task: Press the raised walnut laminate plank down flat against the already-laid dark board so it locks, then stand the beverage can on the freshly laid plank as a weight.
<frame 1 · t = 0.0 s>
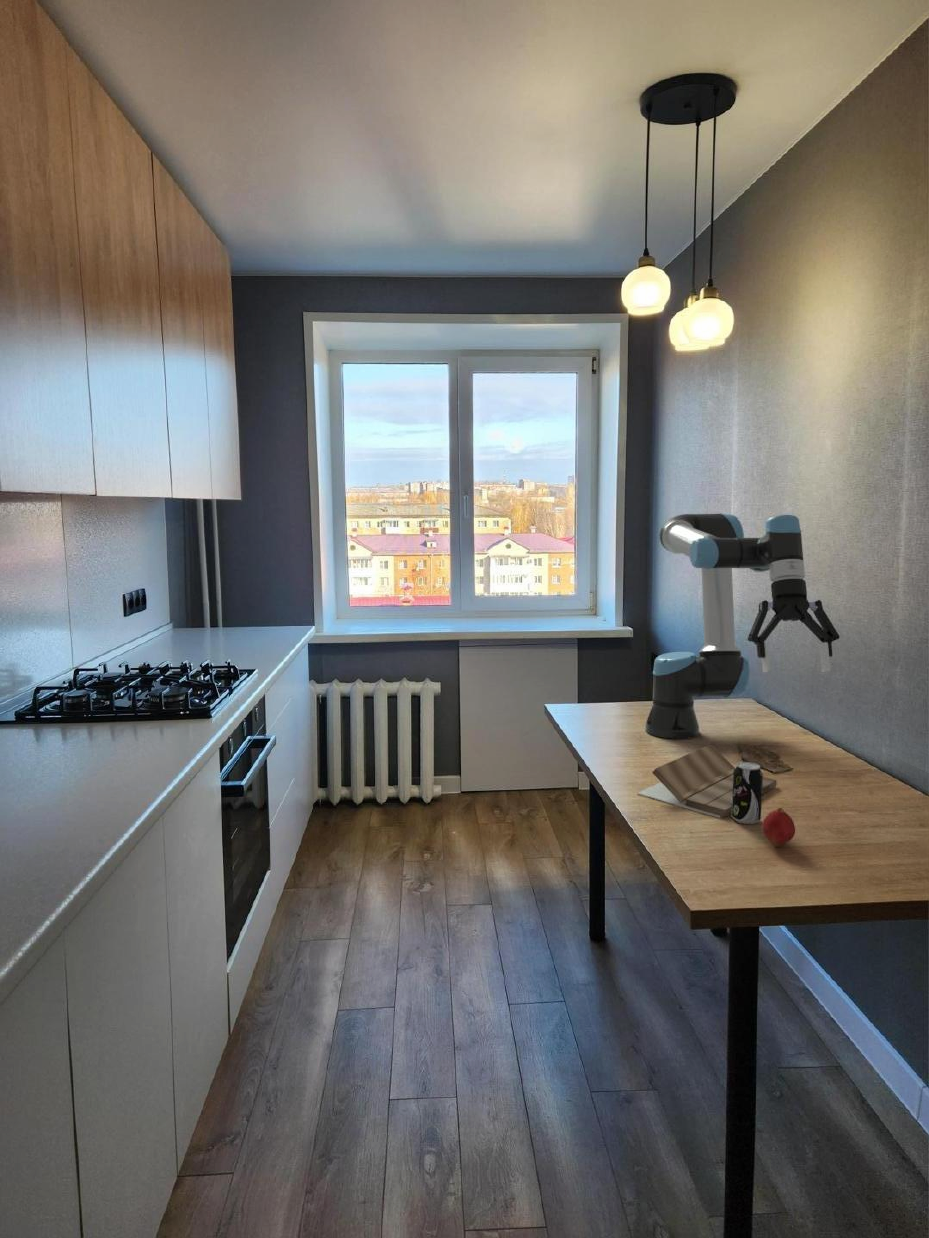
hand: (796, 672, 175), 28 cm above the table, tool tilted 20°, fingers open, 13 cm apart
wooden fragment: (758, 758, 203), on the table
laid board: (732, 796, 174), resting on underlay mat
beverage can: (745, 821, 161), on the table
underlay mat: (706, 790, 179), on the table
plank: (696, 771, 180), point 4 cm above the table, hinge at 35.0°
pomegranate: (777, 847, 148), on the table
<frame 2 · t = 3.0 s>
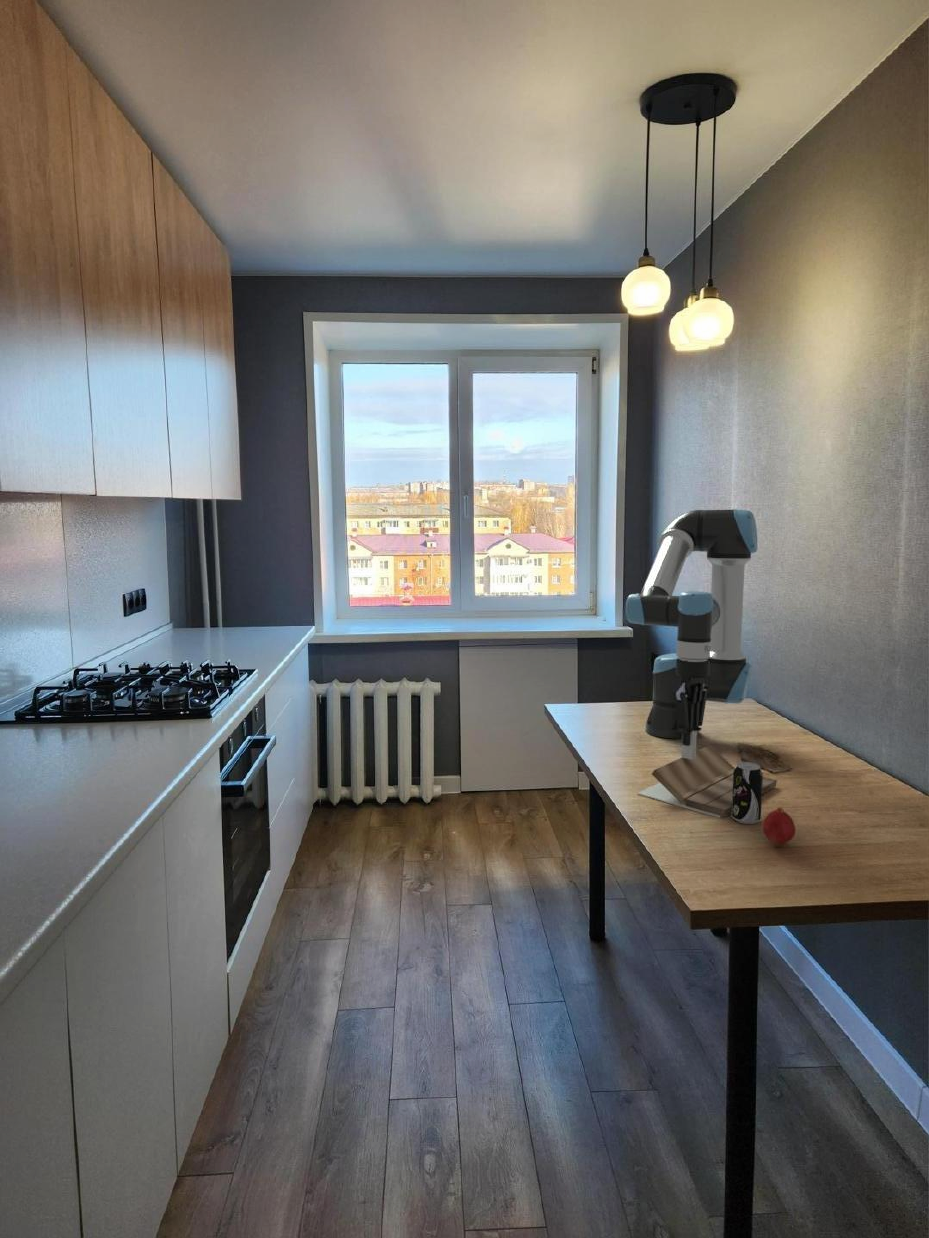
hand: (688, 757, 181), 7 cm above the table, tool pointing down, fingers closed, pressing on plank
plank: (696, 772, 180), point 4 cm above the table, hinge at 32.6°, touching gripper
everything else where it was.
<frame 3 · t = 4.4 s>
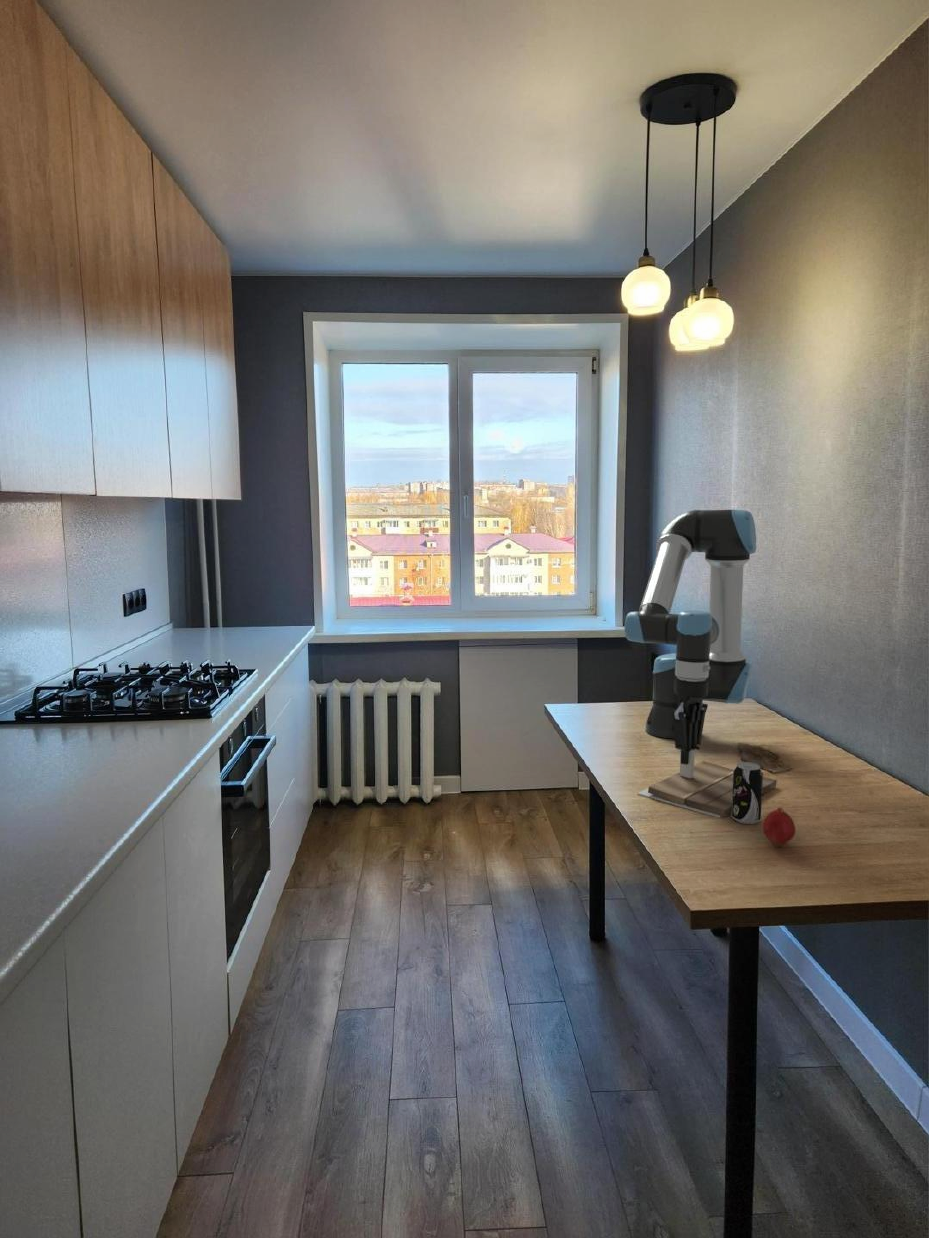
hand: (686, 776, 182), 2 cm above the table, tool pointing down, fingers closed
plank: (694, 781, 181), point 1 cm above the table, hinge at 3.2°, touching gripper
everything else where it was.
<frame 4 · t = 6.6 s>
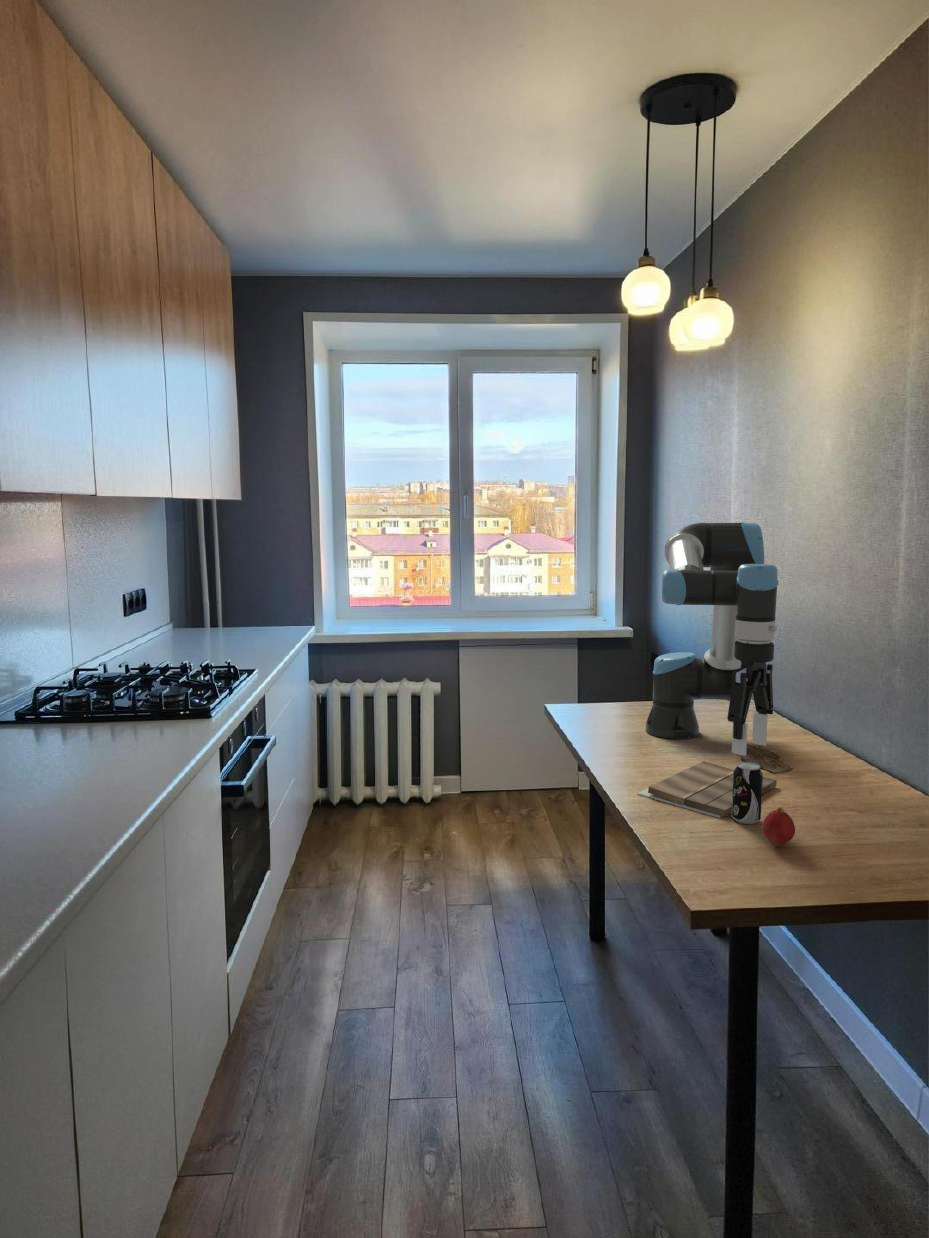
hand: (749, 748, 159), 15 cm above the table, tool pointing down, fingers open, 9 cm apart
plank: (694, 781, 181), point 1 cm above the table, hinge at 3.2°
everything else where it was.
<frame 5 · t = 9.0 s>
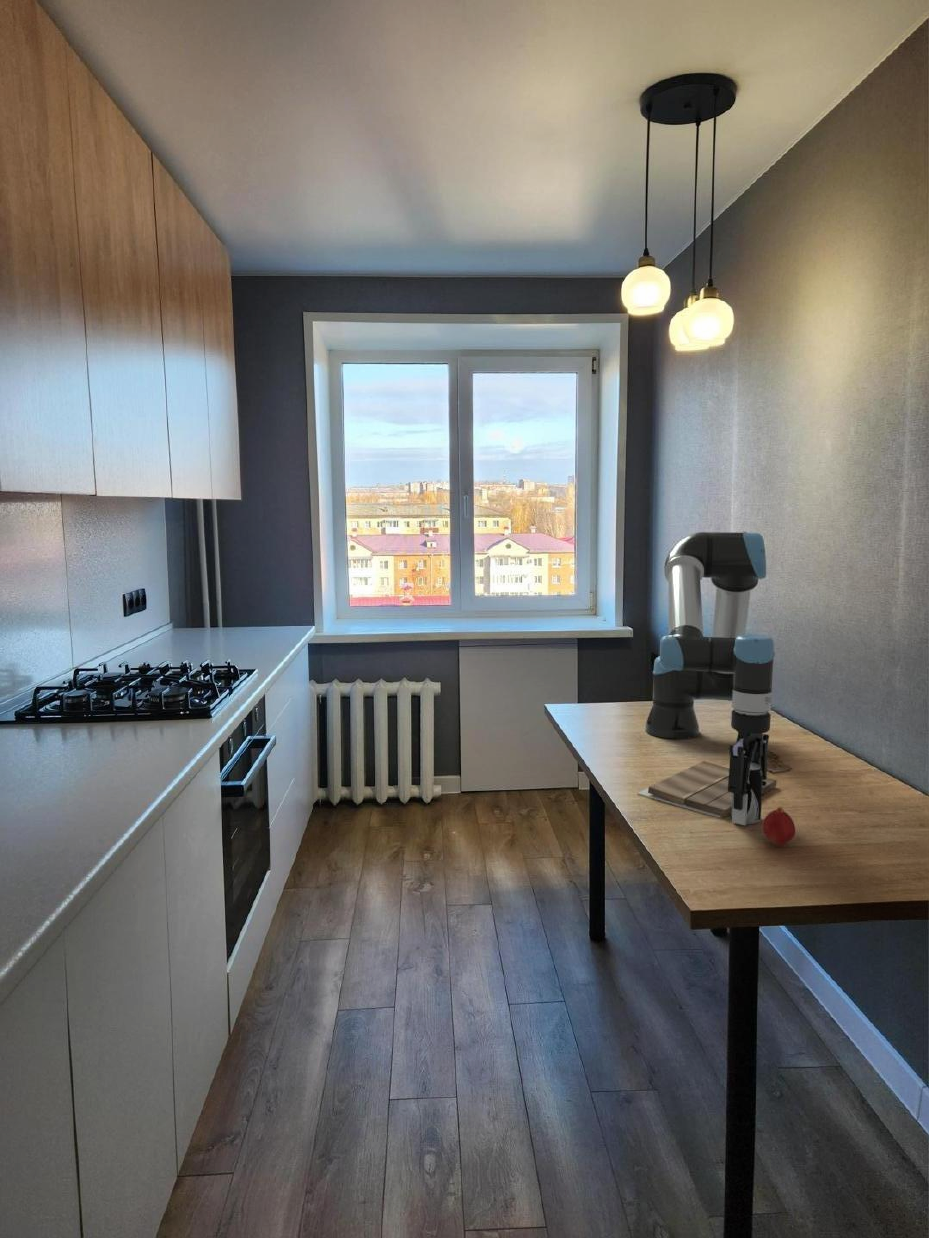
hand: (745, 818, 161), 0 cm above the table, tool pointing down, fingers closed on beverage can, 6 cm apart
beverage can: (745, 821, 161), on the table, touching gripper
everything else where it was.
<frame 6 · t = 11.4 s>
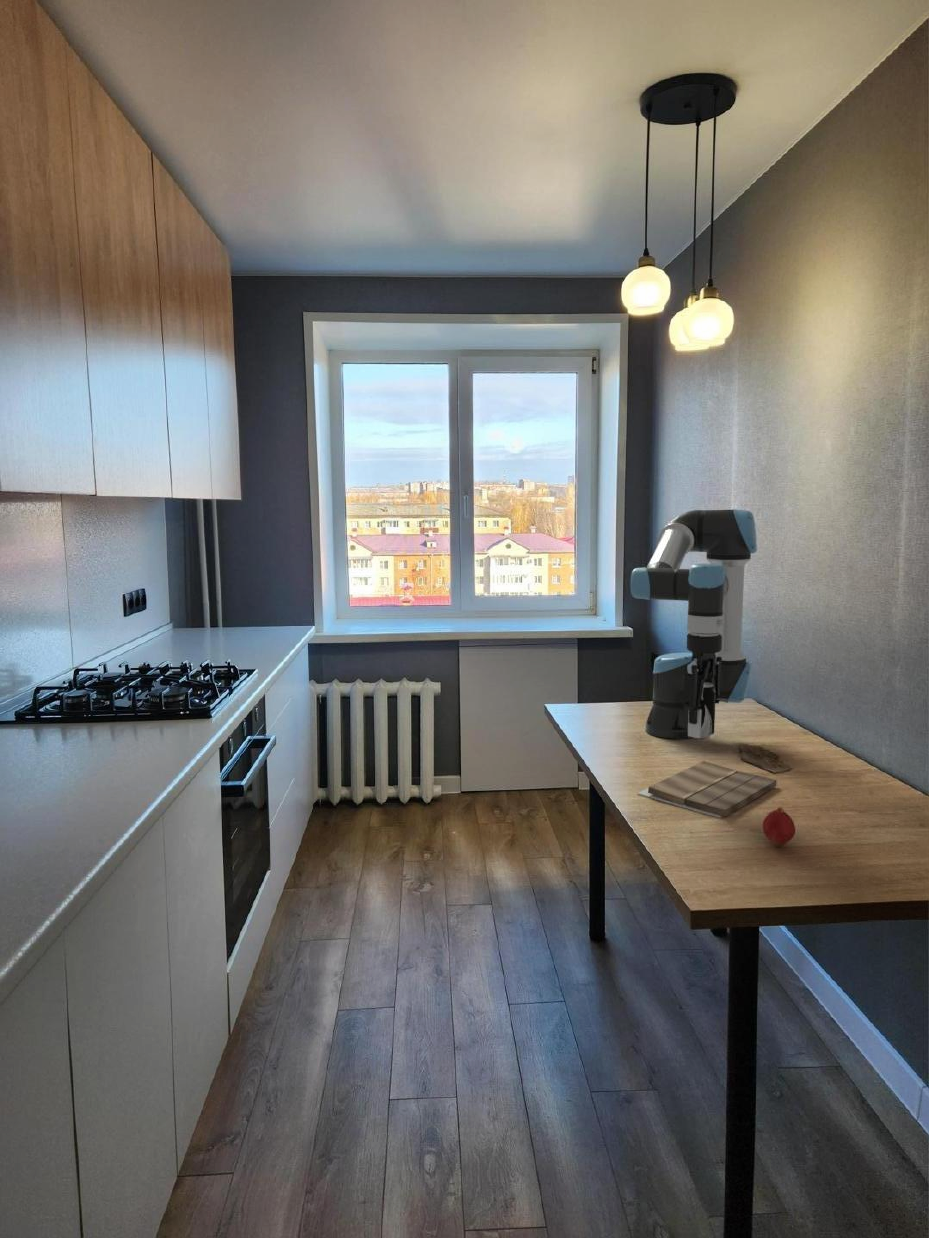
hand: (700, 733, 176), 14 cm above the table, tool pointing down, fingers closed on beverage can, 6 cm apart
beverage can: (700, 735, 176), point 13 cm above the table, touching gripper
everything else where it was.
when the fingers open (3 cm above the table, at t = 14.1 s): beverage can drops 1 cm, resting on plank.
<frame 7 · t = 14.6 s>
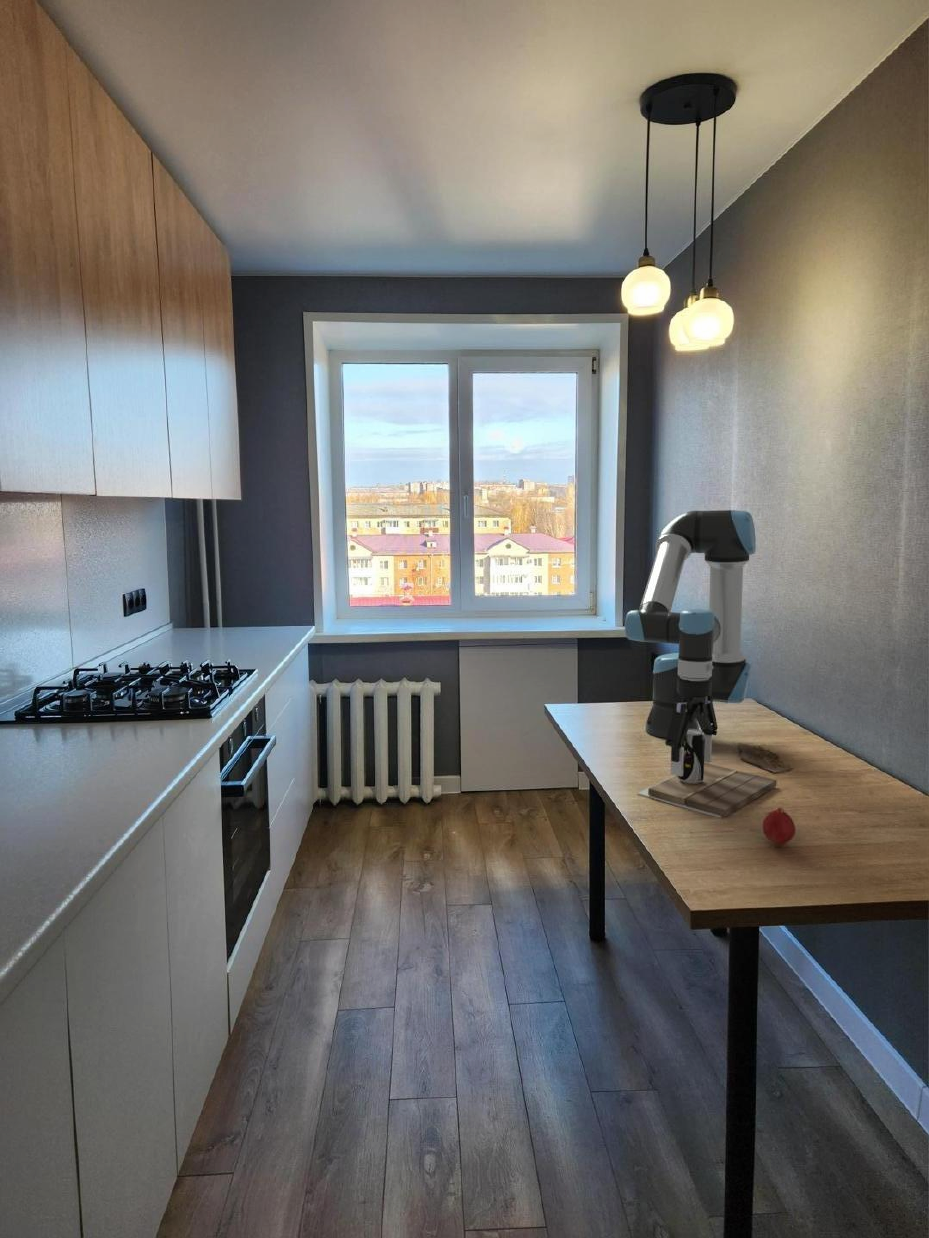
hand: (691, 767, 179), 5 cm above the table, tool pointing down, fingers open, 13 cm apart
beverage can: (690, 782, 179), point 2 cm above the table, touching plank
plank: (694, 782, 181), point 1 cm above the table, hinge at 0.9°, touching beverage can
everything else where it was.
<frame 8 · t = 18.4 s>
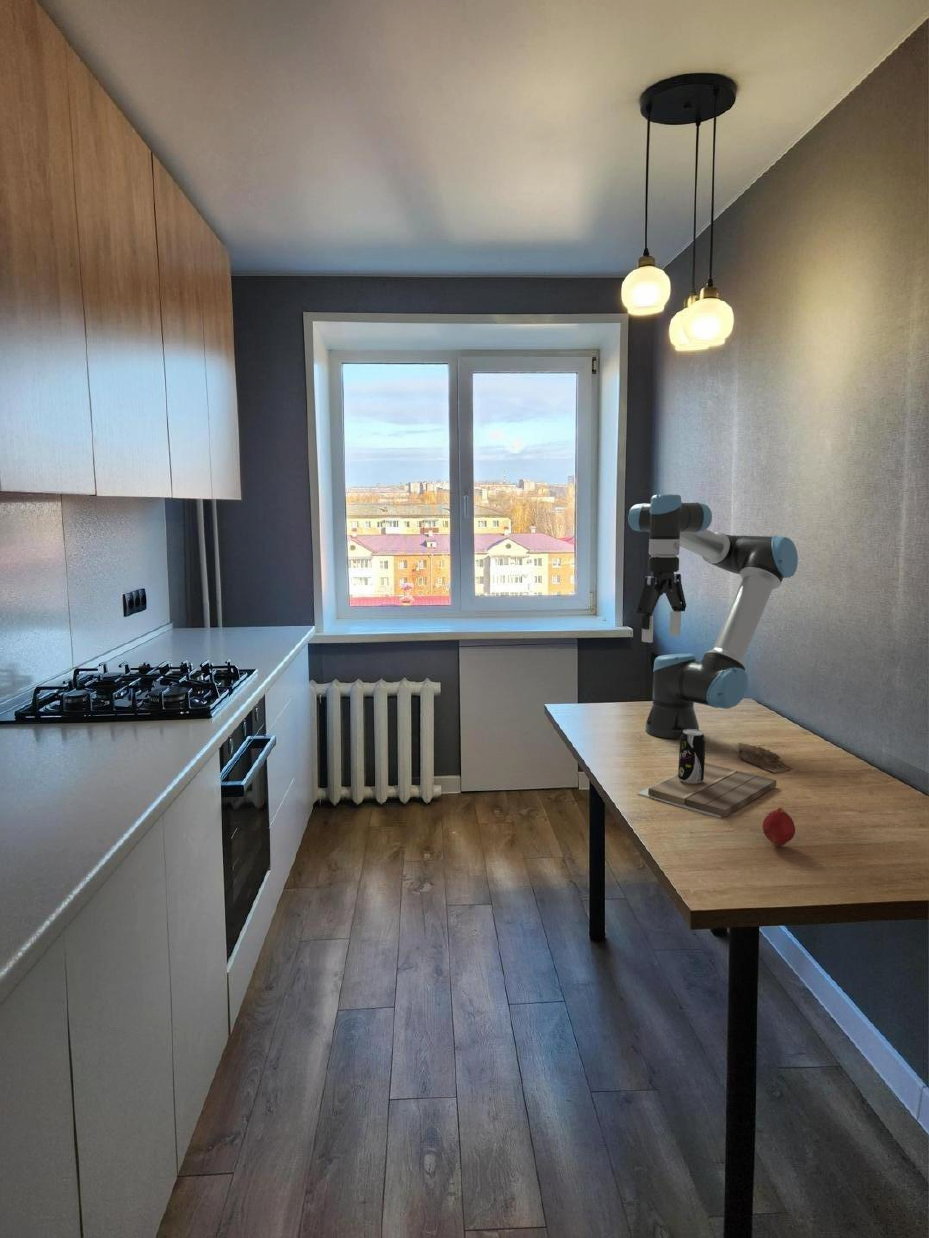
hand: (661, 639, 198), 32 cm above the table, tool pointing down, fingers open, 13 cm apart
nothing on the table moved.
at the end: plank at +1° (first picture: +35°); beverage can inside the target area (2.1 cm from its centre), point 1.6 cm above the table; beverage can tilted 1° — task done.
